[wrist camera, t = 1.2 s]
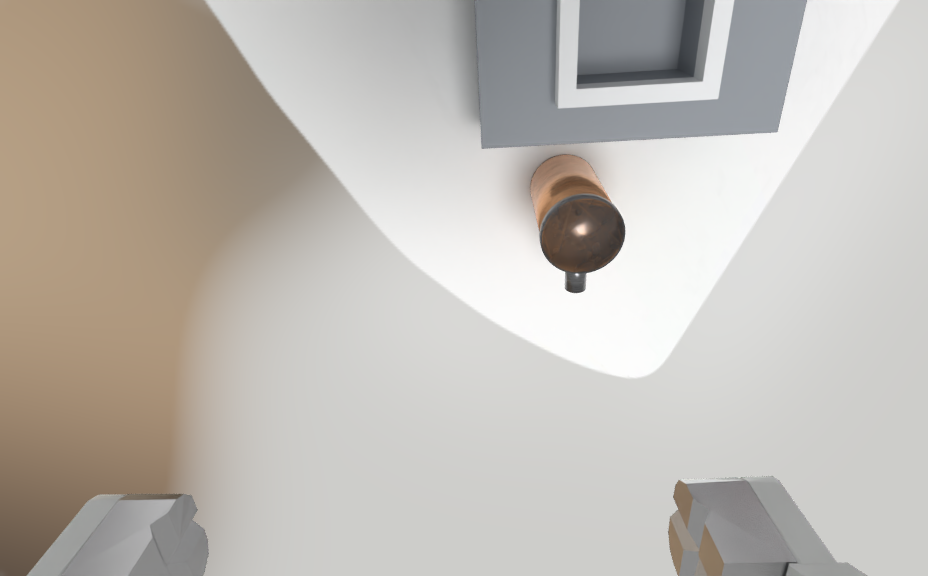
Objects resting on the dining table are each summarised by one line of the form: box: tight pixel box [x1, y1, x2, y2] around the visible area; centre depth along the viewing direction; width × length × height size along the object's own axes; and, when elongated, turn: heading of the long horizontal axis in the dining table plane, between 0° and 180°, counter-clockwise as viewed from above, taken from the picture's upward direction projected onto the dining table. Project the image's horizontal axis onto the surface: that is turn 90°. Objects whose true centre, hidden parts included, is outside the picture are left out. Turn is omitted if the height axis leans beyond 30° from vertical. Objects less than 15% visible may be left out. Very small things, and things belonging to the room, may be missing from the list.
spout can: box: [530, 155, 625, 293], centre depth 38 cm, size 7×5×9 cm
